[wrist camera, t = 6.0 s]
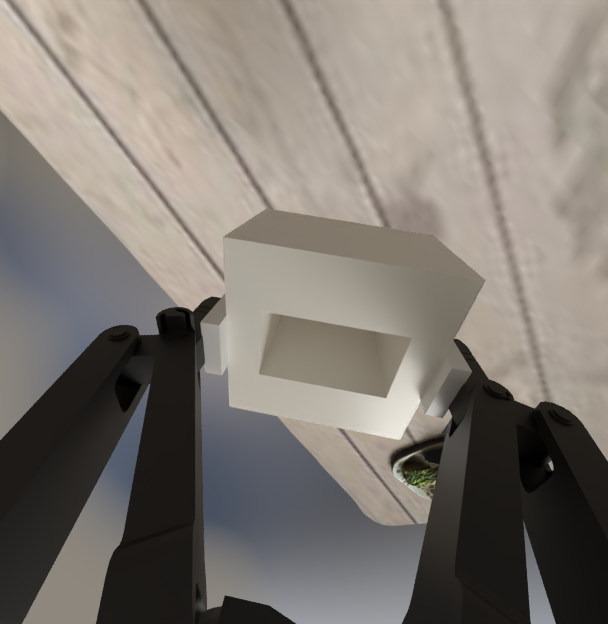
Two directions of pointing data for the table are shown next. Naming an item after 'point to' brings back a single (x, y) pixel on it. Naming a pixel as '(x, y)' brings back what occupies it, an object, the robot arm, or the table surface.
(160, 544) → the robot arm
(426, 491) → the salad plate
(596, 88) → the table surface
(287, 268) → the square block with hole
